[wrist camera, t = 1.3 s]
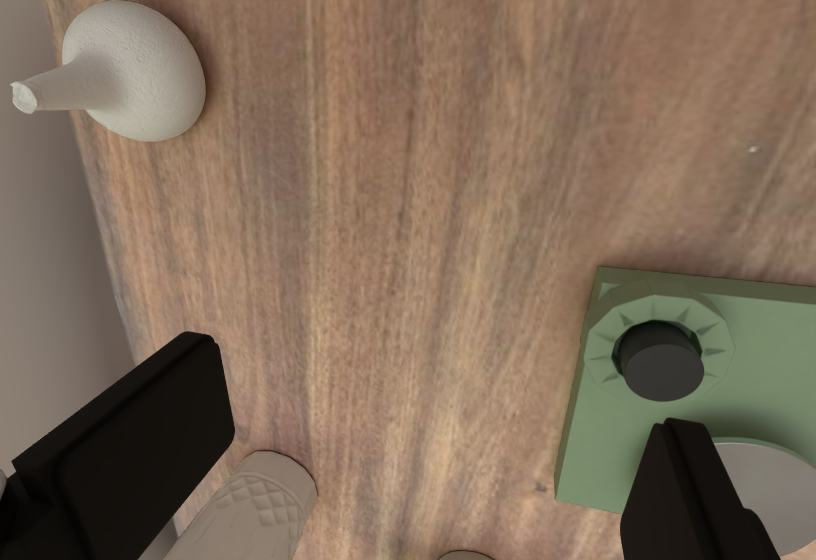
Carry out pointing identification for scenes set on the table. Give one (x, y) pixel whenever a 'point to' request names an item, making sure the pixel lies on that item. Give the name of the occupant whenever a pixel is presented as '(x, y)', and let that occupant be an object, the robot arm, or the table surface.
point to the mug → (464, 556)
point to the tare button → (660, 362)
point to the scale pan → (773, 488)
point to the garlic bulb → (123, 73)
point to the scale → (719, 390)
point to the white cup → (252, 513)
